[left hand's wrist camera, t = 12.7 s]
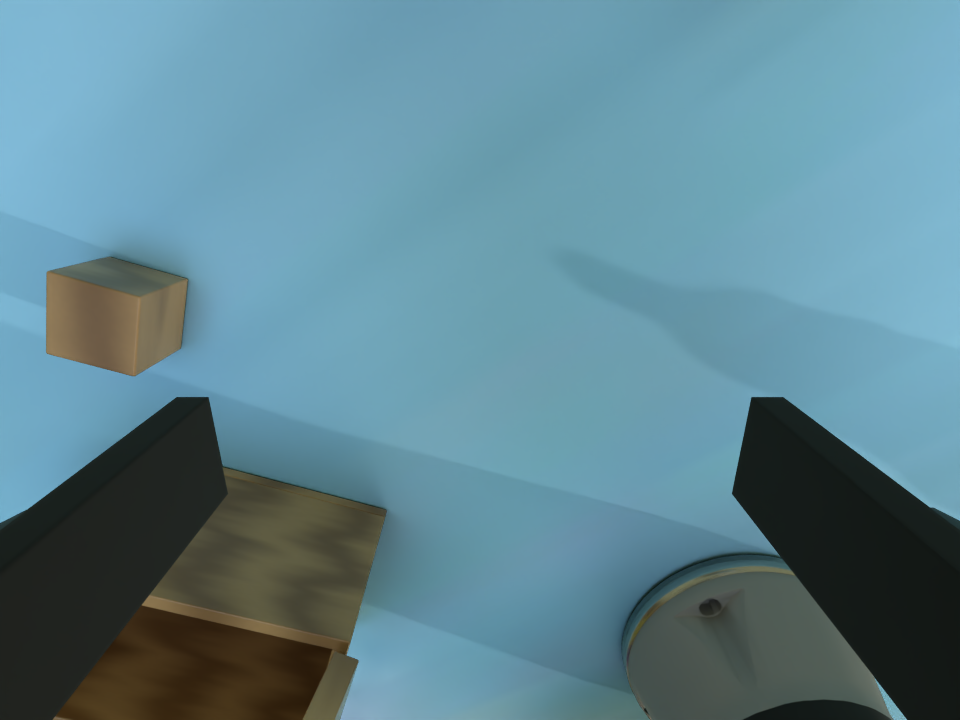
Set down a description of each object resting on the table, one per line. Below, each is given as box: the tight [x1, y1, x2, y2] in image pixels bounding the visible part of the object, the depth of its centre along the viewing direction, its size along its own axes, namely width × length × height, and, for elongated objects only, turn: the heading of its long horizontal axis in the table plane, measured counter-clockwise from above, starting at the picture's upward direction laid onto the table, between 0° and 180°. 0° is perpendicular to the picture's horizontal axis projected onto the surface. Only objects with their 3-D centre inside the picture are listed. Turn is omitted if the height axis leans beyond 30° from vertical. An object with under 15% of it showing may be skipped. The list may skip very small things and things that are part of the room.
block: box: [46, 257, 188, 376], centre depth 26 cm, size 4×4×4 cm
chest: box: [53, 467, 387, 720], centre depth 29 cm, size 16×10×10 cm, turn 72°
